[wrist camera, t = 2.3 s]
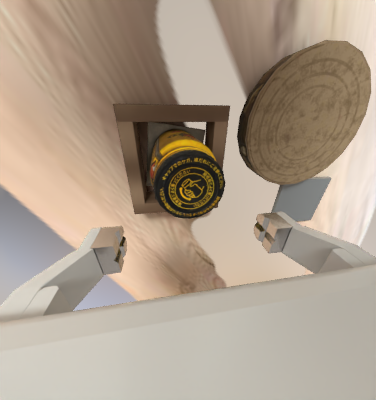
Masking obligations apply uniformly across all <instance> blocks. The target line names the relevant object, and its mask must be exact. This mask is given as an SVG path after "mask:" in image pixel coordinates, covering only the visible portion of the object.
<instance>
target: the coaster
mask: <svg viewBox="0 0 376 400" xmlns="http://www.w3.org/2000/svg"><path fill="white" fill-rule="evenodd" d="M330 180H331V178H330V177H315V178H309V179H307V180H304V181H301V182H299V183H296V184H285V185H280V187H279V190H278V194H277V197H276V200H275V203H274V206H273V209H272V212H271V213H274V212H284V213H286V214H287V215H288V216H289V217H291V218H292V219H293V220H295V221H305V220H311V218H312V216H313V214H314V212H315V210H316V208H317V206H318V204H319V202H320V200H321V198H322V196H323V194H324V192H325V190H326V188H327V186H328V184H329V182H330Z"/></svg>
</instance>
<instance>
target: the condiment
mask: <svg viewBox="0 0 376 400" xmlns="http://www.w3.org/2000/svg"><path fill="white" fill-rule="evenodd" d="M204 135H205V130H201V129H195V128H189V127H182V126H176V125H169V124H163V123H156V122H148V141H147V182H146V186H153V188H154V190H153V191H154V194H155V199H156V200H157V202H158V203H159V205H160V206H161V207H162V208H163V209H164V210H166V211H167V212H168V213H170V214H172V215H174V216H175V217H179V218H195V217H200V216H202V215H204V214H206V213H208V212H209V211H211V210H212V209H213V208H214V207H215V206H216V205H217V203H218V202H219V201H220V199H221V197H222V195H223V192H224V187H225V180H224V174H223V171H222V169H221V167H220V166H219V164H218V163H217V161H216V159H215V157H214V155H213V153H212V152H211V151H210V149H209V148H208V147H207V146H206V145H204V144H203V140H204Z"/></svg>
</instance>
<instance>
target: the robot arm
mask: <svg viewBox="0 0 376 400" xmlns="http://www.w3.org/2000/svg"><path fill="white" fill-rule="evenodd" d="M256 220H257V223H256V224H255V226H254V234H255V236H256V238H257V239H258V240H259V241H261V242H262V245H263V247H264V248H265V249H266V251H268V253H277V252H282V253H283V254H285V255H286V256H288V257H289V258H291V259H293V260H294V261H296V262H297V263H299V264H300V265H302V266H304V267H305V268H307V269H308V270H310V271H311V272H313V273H314V274H309V275H303V276H297V277H291V278H284V279H277V280H271V281H265V282H258V283H252V284H246V285H239V286H232V287H226V288H219V289H213V290H206V291H200V292H193V293H187V294H180V295H174V296H168V297H161V298H155V299H148V300H142V301H135V302H129V303H122V304H116V305H110V306H103V307H97V308H90V309H84V310H77V311H73V310H74V309H75V307H76V306H77V305H78V304H79V303H80V302H81V301H82V300H83V298H84V297H85V296H86V295H87V294H88V293H89V292H90V291H91V289H92V288H93V287H94V286H95V285H96V284H97V283H98V282H99V281H100V279H101V278H102V277H103V275H106V274H113V273H119V272H121V271H122V267H123V263H124V260H123V257H124V256H125V255H126V251H127V242H126V238H125V237H124V236H123V234H124V230H123V227H122V226H115V227H103V228H102V227H101V228H92V229H91V230H90V231H89V233H88V234H87V236H86V238H85V239H84V241H83V242H82V244H81V246H80V247H79V249H78V250H75V251H73V252H71V253H70V254H68V255H67V256H65V257H64V258H62V259H61V260H59V261H58V262H56V263H55V264H53V265H52V266H50V267H49V268H47V269H46V270H44V271H43V272H41V273H40V274H38V275H37V276H35V277H33V278H32V279H30V280H29V281H28V282H26V283H25V284H23V285H21V286H20V287H18V288H17V289H15V290H14V291H13V292H12V293H11V295H10V296H9V297H8V298H7V299H6V300H5V302H4V303H3V304H2V305H1V306H0V400H376V258H375V257H374V256H373V255H371V254H369V253H368V252H366V251H365V250H363V249H362V248H360V247H359V246H357V245H355V244H352V243H349V242H346V241H344V240H341V239H338V238H336V237H333V236H330V235H327V234H325V233H322V232H319V231H316V230H314V229H311V228H308V227H305V226H301V225H300V224H299V223H297V222H296V221H295V220H293V219H292V218H291V217H289V216H288V215H287V214H286V213H284V212H274V213H264V214H258V216H257V218H256Z"/></svg>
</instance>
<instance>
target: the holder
mask: <svg viewBox="0 0 376 400" xmlns="http://www.w3.org/2000/svg"><path fill="white" fill-rule="evenodd" d="M113 106H114V111H115V116H116V121H117V126H118V131H119V136H120V141H121V147H122V152H123V157H124V162H125V167H126V172H127V177H128V182H129V187H130V192H131V197H132V202H133V207H134V212H135V214H143V213H156V212H167V211H166V210H164V209H163V208H162V207H161V206H160V205H159V203H158V202H157V200H156V199H155V194H154V192H147V190H146V182H145V175H144V168H143V161H142V154H141V146H140V139H139V132H138V125H137V122H206V139H205V145H206V146H207V147H208V148H209V149H210V151H211V152H212V153H213V155H214V157H215V159H216V161H217V163H218V164H219V166H220V167H221V169H222V168H223V159H224V151H225V143H226V135H227V127H228V119H229V110H230V106H217V105H216V106H215V105H154V104H113ZM217 207H218V203H217V205H216V206H215V207H214V208H217Z"/></svg>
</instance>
